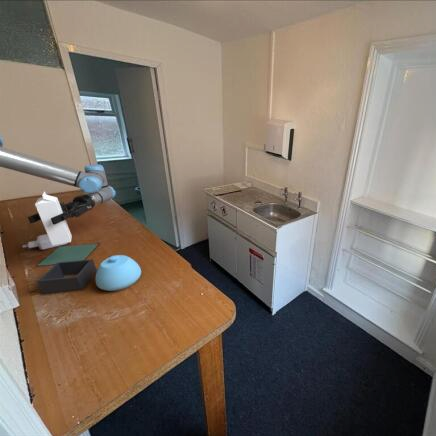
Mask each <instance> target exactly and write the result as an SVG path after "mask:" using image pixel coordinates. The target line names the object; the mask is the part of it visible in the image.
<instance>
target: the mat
mask: <svg viewBox="0 0 436 436" xmlns="http://www.w3.org/2000/svg"><path fill="white" fill-rule="evenodd" d="M98 245H99V244H98V243H92V244H91V243H89V244H74V245H61V246H57V247H56V249H54V251H52V252H51V253H50V254H49V255H47V257H45V258H44V259H43V260H42V261H40V262H39V263H38V264H37V265H36V267H45V266H54V265H55V264H56V263H58V262H67V261H79V260H86V258H87V257H88V256H89V255H90V254H91V253H92V252H93V251H94V249H95V248H96V247H97V246H98Z"/></svg>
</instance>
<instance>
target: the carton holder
mask: <svg viewBox="0 0 436 436" xmlns="http://www.w3.org/2000/svg"><path fill="white" fill-rule="evenodd" d="M97 270H98V269H97V266H96V264H95V261H94V259H91V258H89V259H84V260H79V261H67V262H58V263H56V264H55V265H52V267H51V268H50V269H49V270H48V271H47V272H46V273H44V274H43V276H41V277H40V278H39V279H38V280H37V282H36V283H37V284H38V286H39V288H40V290H41V292H42V294H43V295H48V294H58V293H67V292H75V291H83V289H84V288H85V287H86V285H87V284H88V283H89V282H90V280H91V279H92V278H93V277H94V275H96V273H97ZM68 275H76V276H68ZM65 276H66V277H65Z"/></svg>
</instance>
